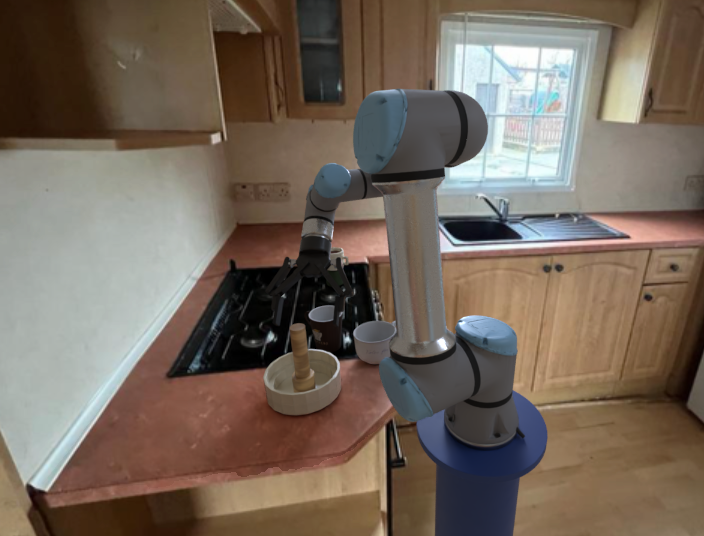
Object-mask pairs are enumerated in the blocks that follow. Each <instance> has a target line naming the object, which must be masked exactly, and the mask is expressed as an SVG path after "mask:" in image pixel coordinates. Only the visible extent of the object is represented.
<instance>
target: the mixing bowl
mask: <svg viewBox="0 0 704 536" xmlns="http://www.w3.org/2000/svg"><path fill="white" fill-rule="evenodd" d="M308 356H309V365H310V369H312V370H313V371H314V376H315V385H316V388H315V389H313V390H309V391H306V392H299V393H294V390H293V382H292V374H293V373H294V372H295V368H294V360H293V352H292V351H291V352H288V353H285V354H283V355H281V356H279V357H278V358H276V359H274V360H273V361H272V362H271V363H270V364H269V365H268V366H267V368H266V369H265V370H264V373H263V376H262V380H263V386H264V392H265V397H266V401H267V405H269V407H270V408H271V409H272V410H273V411H275V412H278V413H280V414H282V415H288V416H302V415H309V414H312V413H315V412H318V411H320V410H322V409H324V408H326V407H327V406H329V405H331V404H332V403H333V402H334V401H335V400H336V399H337V398H338V396H339V395H340V392H341V390H342V374H341V372H342V371H341V363H340V361H339V359H338V357H337V356H336V355H334V354H333V353H330V352H326V351H323V350H317V348H316V349H315V348H308Z"/></svg>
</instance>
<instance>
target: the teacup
mask: <svg viewBox="0 0 704 536" xmlns="http://www.w3.org/2000/svg"><path fill="white" fill-rule="evenodd" d="M396 332H397V329H396V320H393V321H392V322H389V321H384V320H372V321H366V322H363V323H361V324H360V325H358V326H357V327H356V328H355V329H354V330H353V333H352V335H353V336H352V337H353V340H354V341H353V342H354V348H355V353H356V355H357V357H358V358H359V359H360V360H361V361H363V362H365V363H366V364H370V365H380V362H381V361H382V360H383V359H384V358H385V357H390V347H389V341H390V339H391V338H392V337H393V336H394V335H395V333H396Z"/></svg>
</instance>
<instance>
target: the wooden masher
mask: <svg viewBox="0 0 704 536" xmlns="http://www.w3.org/2000/svg"><path fill="white" fill-rule="evenodd" d="M289 337H290V344H291V352H293V360H294V368H295V372H294V373H293V374H292V382H293V390H294V393H299V392H306V391H309V390H313V389H315V388H316V385H315V376H314V371H313V370H312V369H310V365H309V356H308V349H309V348H308V338H307V331H306V325H305V323H300V322H298V323H294V324H291V325H290V326H289Z"/></svg>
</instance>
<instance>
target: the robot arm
mask: <svg viewBox="0 0 704 536" xmlns="http://www.w3.org/2000/svg"><path fill="white" fill-rule="evenodd" d="M488 134H489V123H488V117H487V116H486V113H485V111H484V109H483V107H482V106H481V105H480V103H479V102H478V101H477V100H476V99H475V98H474V97H472V96H471V95H469V94H468V93H465V92H462V91H458V90H453V89H452V90H451V89H450V90H449V89H446V90H438V89H437V90H435V89H433V90H432V89H408V88H395V89H394V88H393V89H384V90H376V91H372V92H370V93H369V94H368V95H366V96H365V98H364V99H363V100H362V102H361V103H360V105H359V107H358V110H357V113H356V116H355V119H354V124H353V130H352V144H353V145H352V146H353V153H354V158H355V159H356V163H357V165H358V167H359V168H355V169H352V168H351V169H347V168H346V167H345V166H344V165H342V164H338V163H335V162H328V163H326V164H324V165H323V166H321V167H320V169H319V170H318V172H317V174H316V176H315V178H314V181H313V184H311V185H310V186H309V187H308V191H307V193H306V198H305V200H306V201H305V210H304V217H303V223H302V228H301V229H302V230H301V235H300V238H301V239H300V242H299V249H298V256H297V258H296V259H295V258H290V257H289V256H285V257H284V259H283V263H282V265H281V267H280V268H279V270H278V271H277V273H276V274H275V275H274V276H273V278H272V280H271V281H270V282H269V284H268V285H267V286H266V288H265V291H264V292H265V293H266V294H267V295H268V296H269V297H271V298H272V299H271V303H270V310H271V311H273V317H272V323H271V324H273V325H274V326H275V327H280V326H281V320H282V313H283V308H284V301H285V300H284V298H283V296H284V295H285V294H286V293H288V291H289V290H290V289H291V288H293V286H295V284H297V283H298V282H299V281H301V280H302V279H303V278H304V277H306V278H307V279H309V278H318V279H319V278H320V277H322V276H323V278H325V280H326V282H327V281H328V282H329V283H330V285H331V286H332V287H331V286H330V287H331V288H332V289H333V290H334V292H336V294H338V295H336V296H335V297H334V305H333V306H334V316H333V325H334V326H335V327H338V326H339V315H340V312H343V313H344V312H345V306H346V299H347V298H350V297H351V298H353V296H355V293H354V291H353V289H352V286H351V285H350V282H349V280H348V278H347V275H346V273H345V270H344V267H343V262H342V260H341V258H340V257H337V258H336V259H333V260H330V255H331V248H332V242H333V236H334V227H335V225H334V224H335V217H336V211H337V210H338V208H339V206H340V204H341V203H345V202H347V203H348V202H353V201H360V200H367V199H377V198H382V199H383V211H384V219H385V229H386V239H387V247H388V248H387V250H388V258H389V268H390V278H391V279H390V280H391V288H392V298H393V308H394V310H393V311H394V319H395V320H394V321H396V326H395V327H396V329H397V332H396V333H395V335H394V336H393V337H392V338H391V339H390V341H389V347H390V357H385V358H384V359H383V360H382V361H381V362H380V364H378V373H379V378H380V383H381V385H382V387H383V390H384V393H385V395H386V396H387V399H388V401H389V402H390V404H391V406H392V407H393V409H394V410H395V411H396V413H397V414H398V415H399V416H400V417H401V418H403V420H405V421H408V422H410V423H414V422H416V423H417V421H419V420H421V419H424V418H426V417H432V416H433V414H435V413H438V412H440V411H442V410H444V409H445V411H444V424H445V427H446V430H447V431H448V433H449V434H450V436H451V437H452V438H453V439H455V440H456V441H457V442H459V443H460V444H462V445H464V446H466V447H469V448H472V449H476V450H483V451H490V450H497V449H500V448H503V447H505V446H507V445H509V444H510V443H511V442H512V441H513V440H514V439H515V437H516V435H517V433H518V434H519V435H520V436H521V437H522V438H524V437H525V435H524V434H523V433H522V432H521V431H520V429H519V428H518V426H519V419H518V413H517V410H516V406H515V403H514V399H513V396H512V392H513V390H514V383H515V374H516V373H515V372H516V364H517V355H518V350H519V349H518V336H517V333H516V331H515V330H514V328H512V327H511V326H510V325H509V324H508V323H506V322H504V321H503V320H500V319H497V318H494V317H490V316H486V315H467V316H463V317H461V318H460V319H459V320H458V321H456V322H457V323H456V325H455V327H454V330H455V333H454V332H452V330H449V328H448V327H447V319H446V317H447V316H446V305H445V304H446V303H445V291H444V275H443V261H442V248H441V247H442V246H441V233H440V222H439V221H440V220H439V218H440V217H439V206H438V193H437V192H438V189H439V187H440V185H441V184H442V183H443V182H444V181H445V180H446V169H451V168H455V167H457V166H461V165H462V164H464V163H466V162H469V161H471V160H472V159H474V158H475V157H476V156H478V155H479V153H481V151H482V149H483V148H484V147H485V144H486V142H487V138H488ZM331 265H333V266H334V268H337V270H338V272H339V275H340V277H341V279H342V281H343V284H342V285H343V286H344V288H345V290H343V289H342V288H341V286H339V285H338V284H337V283H336V282H335V280H334V279H333V278H332V277H331V275H330V274H329V273H328V269H329V267H330V266H331ZM294 266H296V268H295V269H294V270H293V271H292V273H291V274H290V275H289V273H290V271H291V270H292V269H293V268H294ZM288 275H289V276H288ZM287 276H288V277H287Z"/></svg>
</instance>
